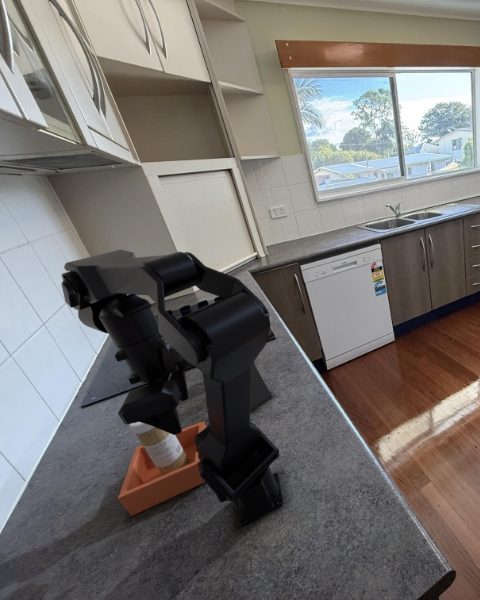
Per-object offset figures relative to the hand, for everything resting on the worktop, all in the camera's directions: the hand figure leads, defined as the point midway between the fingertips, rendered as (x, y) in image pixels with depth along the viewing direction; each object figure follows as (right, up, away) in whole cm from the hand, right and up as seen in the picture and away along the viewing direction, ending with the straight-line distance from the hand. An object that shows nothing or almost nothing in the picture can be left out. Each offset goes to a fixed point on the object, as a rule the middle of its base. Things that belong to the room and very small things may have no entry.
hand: (182, 415), depth 53 cm
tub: (-5, -13, +5) cm, 15 cm away
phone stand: (+1, -4, +22) cm, 23 cm away
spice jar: (-5, -12, +5) cm, 14 cm away
